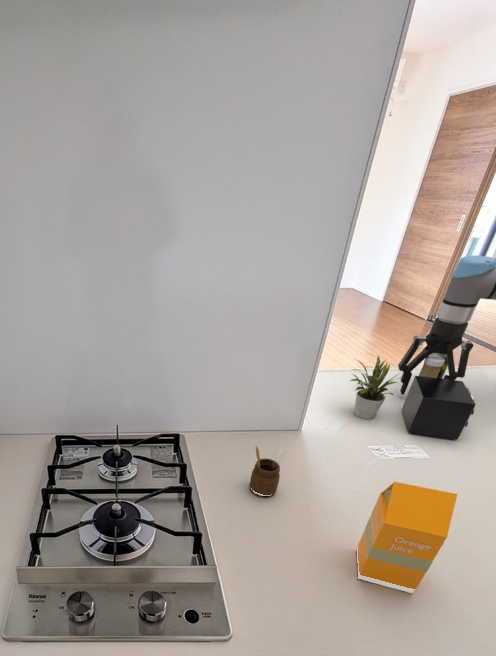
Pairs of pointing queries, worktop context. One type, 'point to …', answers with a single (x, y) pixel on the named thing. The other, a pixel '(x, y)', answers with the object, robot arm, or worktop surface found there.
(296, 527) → the worktop surface
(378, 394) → the house plant
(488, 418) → the worktop surface
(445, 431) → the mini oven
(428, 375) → the sprinkles bottle
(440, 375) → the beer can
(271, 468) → the utensil holder
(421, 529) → the orange juice
